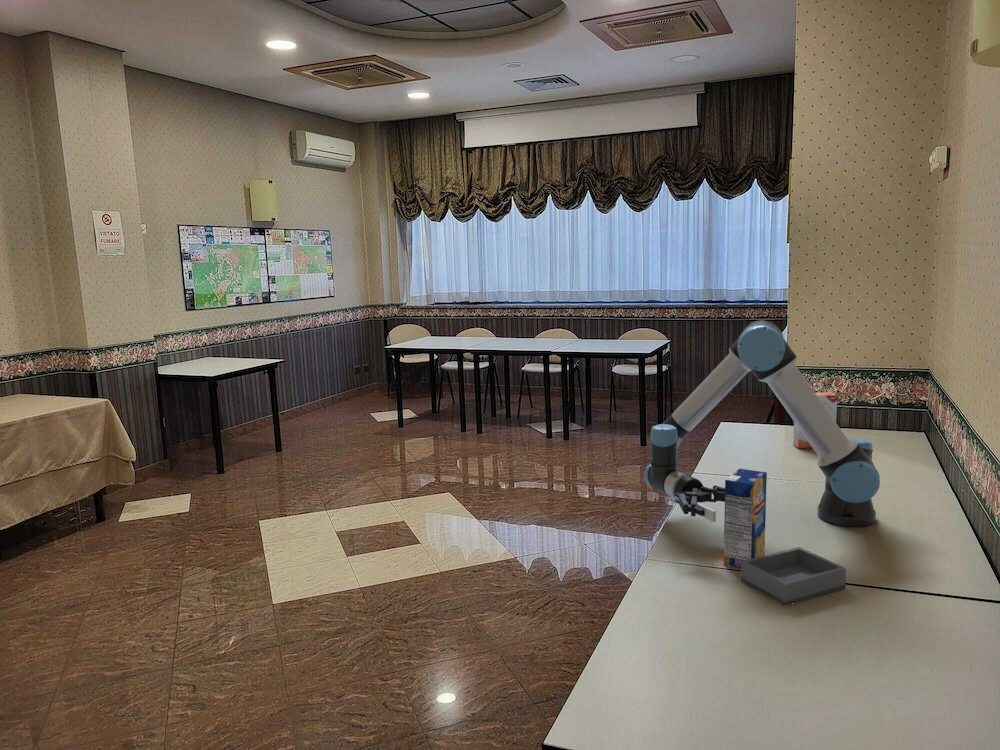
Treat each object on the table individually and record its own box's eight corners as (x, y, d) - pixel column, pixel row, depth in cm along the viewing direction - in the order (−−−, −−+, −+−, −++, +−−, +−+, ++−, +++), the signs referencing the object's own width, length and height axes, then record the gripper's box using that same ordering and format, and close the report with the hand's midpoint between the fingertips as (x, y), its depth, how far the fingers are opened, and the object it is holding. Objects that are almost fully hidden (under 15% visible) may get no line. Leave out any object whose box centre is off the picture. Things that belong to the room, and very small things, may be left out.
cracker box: (798, 449, 283) (800, 395, 280) (792, 445, 289) (794, 392, 286) (835, 448, 283) (838, 394, 279) (829, 444, 289) (831, 391, 285)
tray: (798, 566, 183) (799, 546, 182) (845, 588, 171) (846, 568, 170) (740, 581, 176) (741, 561, 175) (784, 606, 164) (785, 584, 163)
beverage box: (723, 564, 186) (725, 480, 182) (737, 549, 194) (739, 468, 191) (751, 570, 182) (753, 484, 178) (764, 555, 190) (766, 472, 187)
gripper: (720, 494, 213) (774, 517, 194) (646, 508, 203) (695, 534, 184) (720, 468, 212) (775, 489, 192) (646, 482, 202) (696, 506, 183)
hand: (736, 512), depth 188 cm, fingers open, 13 cm apart
